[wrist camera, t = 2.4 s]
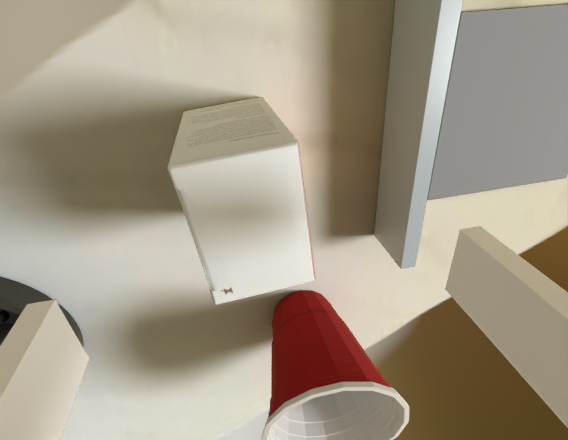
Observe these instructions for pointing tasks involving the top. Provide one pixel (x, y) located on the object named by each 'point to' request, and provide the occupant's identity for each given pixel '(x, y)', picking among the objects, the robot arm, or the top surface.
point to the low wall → (413, 120)
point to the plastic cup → (326, 379)
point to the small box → (243, 198)
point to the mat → (504, 102)
